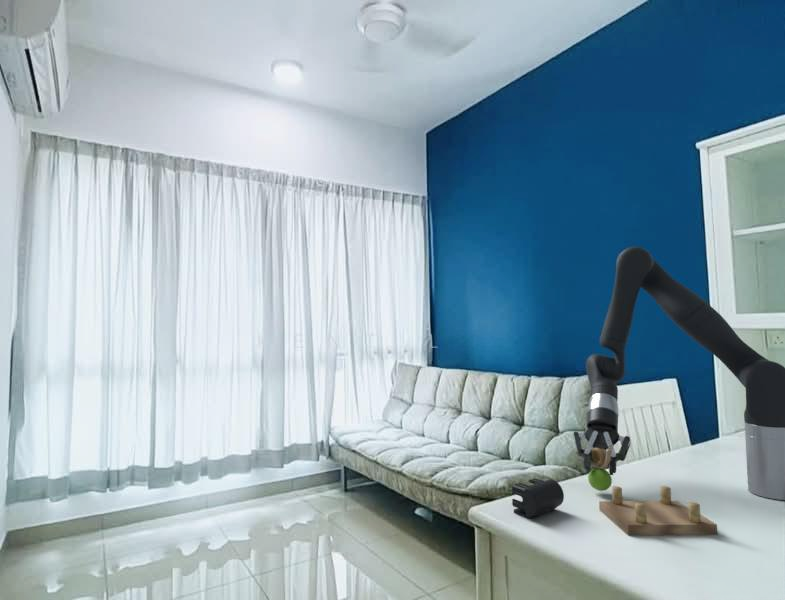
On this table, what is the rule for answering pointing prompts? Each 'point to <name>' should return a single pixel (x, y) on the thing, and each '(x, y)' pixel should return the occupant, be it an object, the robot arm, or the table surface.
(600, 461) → the snail figurine
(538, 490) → the end cap
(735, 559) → the table surface
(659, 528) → the wooden peg board
